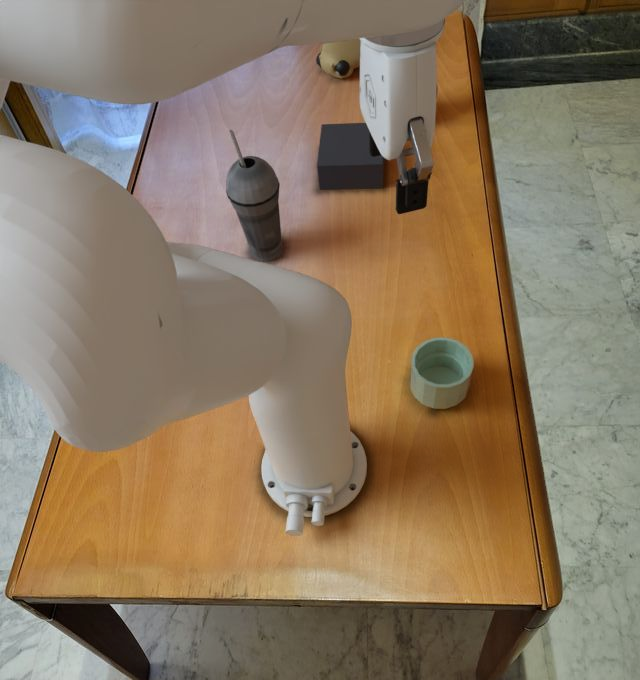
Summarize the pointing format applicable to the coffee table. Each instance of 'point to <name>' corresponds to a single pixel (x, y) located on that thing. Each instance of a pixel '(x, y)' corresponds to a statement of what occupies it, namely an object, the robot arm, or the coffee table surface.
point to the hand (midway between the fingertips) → (396, 180)
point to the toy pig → (340, 57)
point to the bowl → (441, 372)
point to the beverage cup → (256, 203)
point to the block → (347, 158)
